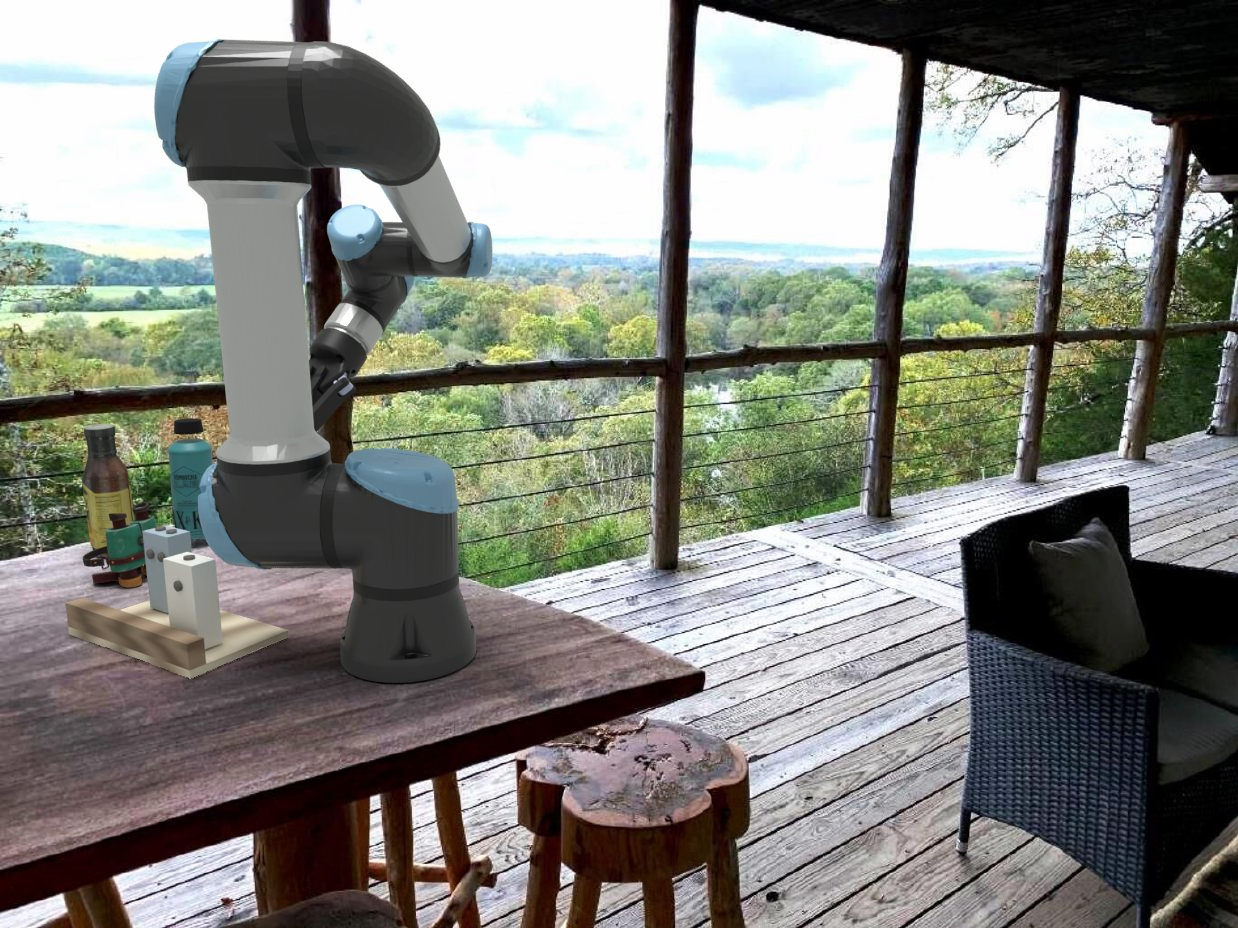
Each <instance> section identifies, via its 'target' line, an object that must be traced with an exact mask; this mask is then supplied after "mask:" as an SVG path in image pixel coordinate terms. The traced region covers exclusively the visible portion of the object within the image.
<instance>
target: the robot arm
mask: <svg viewBox="0 0 1238 928" xmlns="http://www.w3.org/2000/svg"><path fill="white" fill-rule="evenodd" d="M153 109H154V111H153V114H154V120H155V127H156V133H157V136H158V138H159V140H161V141H162V143H161V148H162V149H163V151H164V153H165V155H166V156H167V158H168V159H169V160H170V161H171V162H172V163H174V164H175V165H177V166H178V167H181V168H185V169H186V176H187V184H188V186H189V187H190V188H191V189H192V190H193V191H195V193H197V195H198V196H200V197H201V198H202V199H203V201H204V202H205V204H206V208H207V220H208V228H209V229H208V231H209V238H210V240H209V241H210V248H211V251H210V252H211V260H212V268H213V278H214V279H213V281H214V289H215V290H214V291H215V298H216V300H215V301H216V309H217V319H218V329H219V338H220V339H219V340H220V341H219V342H220V350H221V359H222V370H223V378H224V379H223V380H224V387H225V388H224V389H225V400H226V409H227V419H228V428H229V429H228V430H229V436H228V438H227V439H226V440H224V442H223V443H222V444H221V445H220V446H219V447H218V448H217V450H216V451H215V452H216V453H215V454H216V455H215V456H216V462H215V463H213V464H212V465H211V466H209V467H208V468H207V469H206V471H205V473H204V474H203V476H202V479H201V482H200V486H199V487H200V490H201V494H200V495H199V496H198V512H199V518H200V523H201V527H202V531H203V534H204V536H205V538H204V539H205V541H206V543H207V545H208V546H209V548H210V549H211V551H212V552H213V554H215V556H217V558H219V559H221V561H223V562H224V563H226V564H228V565H230V566H234V567H243V568H244V567H245V568H246V567H247V568H256V569H257V570H266V571H267V570H271V569H321V570H322V569H327V570H328V569H330V570H331V569H335V570H336V569H342V570H345V569H347V570H348V569H349V570H351V573H352V585H353V586H352V589H353V591H352V592H353V593H352V600H351V603H350V607H349V611H348V614H347V617H346V624H345V630H344V631H343V633H342V635H341V638H340V641H339V652H340V664H341V666H342V668H343V669H344V670H345V671H346V672H347V673H348V674H350V675H352V676H354V677H356V678H360V679H363V680H366V681H370V682H371V681H372V682H379V683H385V684H386V683H391V684H392V683H394V684H400V683H401V684H402V683H404V684H405V683H414V682H415V683H416V682H421V681H427V680H432V679H436V678H439V677H443V676H447V675H449V674H452V673H454V672H456V671H458V670H461V669H462V668H464V667H465V666H467V665H468V664H469V663H471V661H472V660H473V659H474V657H476V654H477V631H476V629H475V626H474V624H473V622H472V621H471V620H470V617H469V614H468V610H467V607H466V603H465V600H464V596H463V595H462V591H461V588H460V575H459V574H460V573H459V571H460V568H459V566H460V564H459V563H460V562H459V561H460V560H459V527H458V525H459V524H458V523H459V522H458V519H459V517H458V510H459V508H460V507H459V506H460V502H459V499H458V498H457V497H458V496H457V494H458V493H457V485H456V476H455V473H454V470H453V469H452V467H451V466H450V465H449V464H448V463H447V462H446V461H444V460H443V459H440V458H438V457H437V456H435V455H430V454H428V453H423V452H419V451H414V450H408V449H400V448H399V449H398V448H387V447H385V448H383V447H381V448H362V449H358V450H355V451H352V452H350V453H349V454H348V455H347V457H346V460H344V463H334V462H332V458H331V457H332V456H331V455H332V454H331V445H330V443H329V441H328V440H326V439H325V438H324V437H323V436H321V435H320V434H319V433H318V432H319V430H320V429H321V428H322V426H323V425H324V424H326V422H327V421H328V420H329V419H330V417H331V416H332V415H333V414H334V413H335V412H336V411H337V410H338V409H339V407H341V405H342V404H343V403H344V402H345V401H347V399H349V398H350V397H351V396H353V395H354V394H355V393H356V392H357V388H356V387H355V386H354V385H353V384H352V383H351V381H350V379H351V378H354V377H356V376H357V375H358V373H360V370H361V369H362V367H363V366H364V364H365V362H366V360H367V359H368V356H369V355H370V354H371V353H372V351H373V349H374V348H375V346H376V344H378V342H379V340H380V338H381V336H382V335H383V334H384V332H385V330H386V328H387V327H388V325H389V324H390V323H391V321H392V320H393V318H394V316H396V314H397V312H398V310H399V309H400V307H401V306H402V305H403V303H405V301H406V300H407V298H408V296H409V294H410V291H411V290H412V287H413V285H414V282H415V277H419V278H420V277H421V278H422V277H423V278H424V277H425V278H455V279H456V278H459V279H469V278H481V277H482V278H483V277H486V276H488V275H489V274H490V272H491V270H492V266H493V239H492V238H493V237H492V232H491V229H490V227H489V226H488V225H487V224H485V223H478V222H474V221H467V219H466V216H465V214H464V212H463V209H462V206H461V205H460V203H459V200H458V197H457V195H456V193H455V191H454V188H453V186H452V185H453V184H452V183H451V181H450V179H449V177H448V173H447V171H446V169H445V167H444V165H443V161H442V160H441V157H440V153H441V152H440V151H441V146H442V145H441V136H440V131H439V129H438V127H437V123H436V122H435V120H434V117H433V115H432V113H431V110H430V109H429V108H428V106H427V105H426V103H425V102H424V100H423V99H422V98H421V96H420V95H419V94H417V92H416V91H415V90H414V89H413V87H412V86H410V85H409V84H408V83H407V82H406V81H405V80H404V79H403V78H402V77H401V76H399V75H398V74H397V73H396V72H394V71H393V70H392V69H390V68H389V67H388V66H386V65H385V64H384V63H382V62H381V61H379V60H377V59H375V58H374V57H372V56H370V55H369V54H367V53H365V52H363V51H360V50H358V49H356V48H353V47H351V46H348V45H344V44H340V43H335V42H332V41H309V42H302V41H283V40H282V41H279V40H277V41H276V40H251V39H250V40H249V39H248V40H247V39H222V38H218V39H215V40H210V41H209V40H208V41H194V42H193V41H192V42H185V43H182V44H180V45H179V44H178V45H177V46H176V47H175V48H174V49H172V50H171V51H170V52H169V54H168V55H167V56H166V59H165V60H164V61H163V62H162V64H161V66H160V69H159V72H158V74H157V78H156V84H155V89H154V105H153ZM329 168H335V169H336V168H337V169H339V168H340V169H353V170H357V171H360V173H362V174H363V176H365V178H366V179H368V180H370V181H371V182H372V183H374V184H377V185H379V186H380V188H381V189H382V191H383V193H384V195H385V196H386V198H387V200H388V201H389V203H390V204H391V205H392V207H393V209H394V210H395V212H396V214H397V215H398V217H399V218H400V220H401V222H399V221H383V220H382V219H381V218H380V216H379V214H378V213H377V212H376V210H374V209H373V208H370V207H368V206H366V205H364V204H350V205H346V206H344V207H341V208H340V209H338V210H336V211H335V212H334V213H333V214H332V216H331V217H330V219H329V220H328V223H327V226H326V227H327V228H326V230H327V231H326V232H327V233H326V234H327V236H328V239H329V243H330V245H331V252H332V254H333V255H334V257H335V259H336V261H337V264H338V266H339V269H340V271H341V273H342V276H343V278H344V280H345V281H344V282H345V284H346V286H347V289H348V290H347V292H346V293H345V295H344V296H343V298H342V299H341V301H339V304H337V306H336V307H335V309H334V311H333V312H332V313H331V315H330V316H329V317H328V319H327V320H326V322H325V324H324V326H323V328H322V329H321V330H320V331H319V333H318V334H317V336H316V337H315V339H314V340H313V342H312V343H311V344H310V347H309V345H308V330H307V319H306V317H307V316H306V315H307V314H306V306H305V305H306V301H305V292H304V289H305V288H304V277H303V265H302V264H303V262H302V253H301V251H302V250H301V239H300V225H299V211H298V210H299V209H298V205H299V202H300V201H301V200H302V199H303V198H304V197H305V196H306V195H307V193H308V192H309V191H310V190H311V189H312V179H311V177H312V176H311V169H329ZM309 352H310V353H309ZM309 354H310V356H309ZM309 357H310V358H309Z"/></svg>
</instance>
